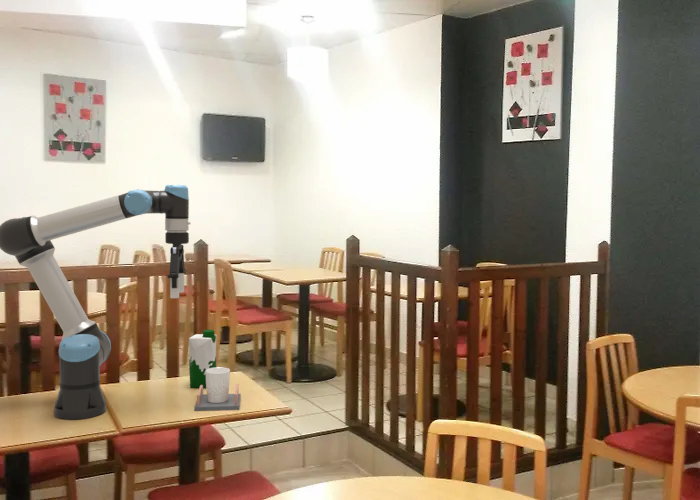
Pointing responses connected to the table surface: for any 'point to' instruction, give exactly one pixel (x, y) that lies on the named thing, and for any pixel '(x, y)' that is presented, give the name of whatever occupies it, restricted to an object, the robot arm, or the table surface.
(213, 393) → the white cup
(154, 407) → the table surface
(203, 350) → the milk carton
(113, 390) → the table surface
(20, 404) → the table surface
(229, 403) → the end holder
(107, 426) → the table surface
